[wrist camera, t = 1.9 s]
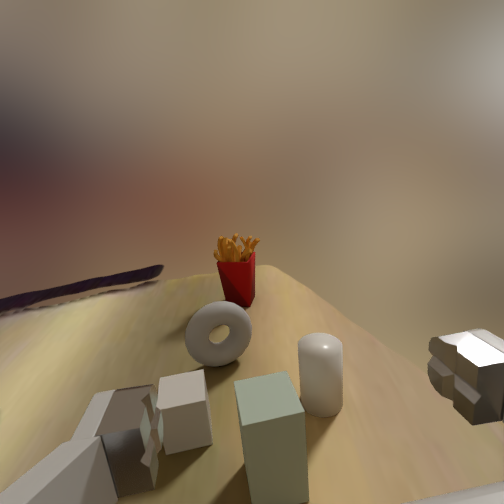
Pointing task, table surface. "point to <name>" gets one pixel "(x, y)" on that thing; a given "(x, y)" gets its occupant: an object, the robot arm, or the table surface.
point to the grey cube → (185, 411)
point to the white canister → (321, 374)
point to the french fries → (237, 269)
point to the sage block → (273, 439)
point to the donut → (210, 319)
